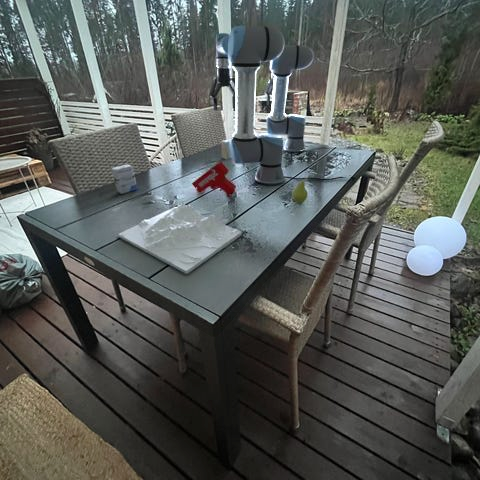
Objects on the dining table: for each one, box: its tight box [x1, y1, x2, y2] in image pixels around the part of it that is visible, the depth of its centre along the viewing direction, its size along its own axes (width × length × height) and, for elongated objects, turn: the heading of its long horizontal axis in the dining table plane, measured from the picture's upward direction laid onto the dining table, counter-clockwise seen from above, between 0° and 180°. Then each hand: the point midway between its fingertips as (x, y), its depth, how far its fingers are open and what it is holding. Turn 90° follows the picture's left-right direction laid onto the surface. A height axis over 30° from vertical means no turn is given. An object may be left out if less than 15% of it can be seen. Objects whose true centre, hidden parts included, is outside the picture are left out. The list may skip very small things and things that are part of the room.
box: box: [221, 139, 232, 160], centre depth 177 cm, size 5×4×11 cm
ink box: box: [110, 164, 138, 195], centre depth 131 cm, size 8×5×12 cm, turn 135°
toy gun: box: [191, 161, 237, 197], centre depth 128 cm, size 18×4×15 cm
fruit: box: [291, 174, 311, 204], centre depth 118 cm, size 7×8×12 cm
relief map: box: [117, 202, 243, 275], centre depth 96 cm, size 27×35×5 cm
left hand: (225, 109), depth 164 cm, fingers open, 13 cm apart
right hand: (274, 104), depth 210 cm, fingers open, 13 cm apart
